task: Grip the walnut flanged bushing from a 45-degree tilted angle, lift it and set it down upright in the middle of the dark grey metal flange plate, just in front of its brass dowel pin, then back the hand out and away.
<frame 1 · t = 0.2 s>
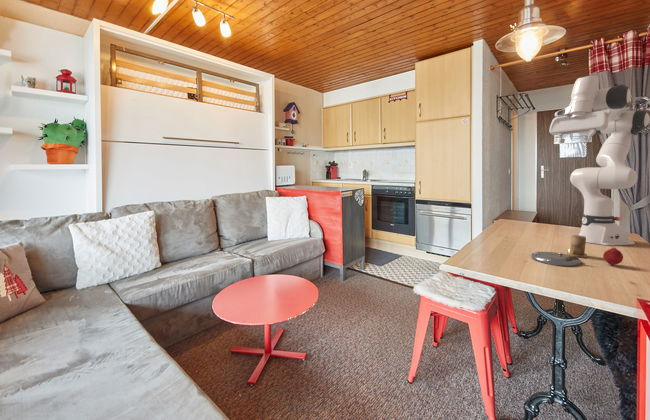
hand: (574, 141, 131), 51 cm above the table, tool tilted 20°, fingers open, 8 cm apart
bushing: (576, 255, 135), on the table
flange plate: (554, 259, 130), on the table
onion: (611, 265, 121), on the table
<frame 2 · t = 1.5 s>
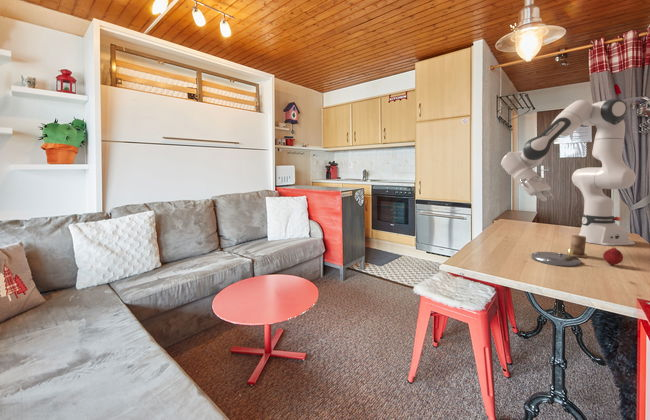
hand: (549, 199, 141), 25 cm above the table, tool tilted 45°, fingers open, 8 cm apart
nothing on the table moved.
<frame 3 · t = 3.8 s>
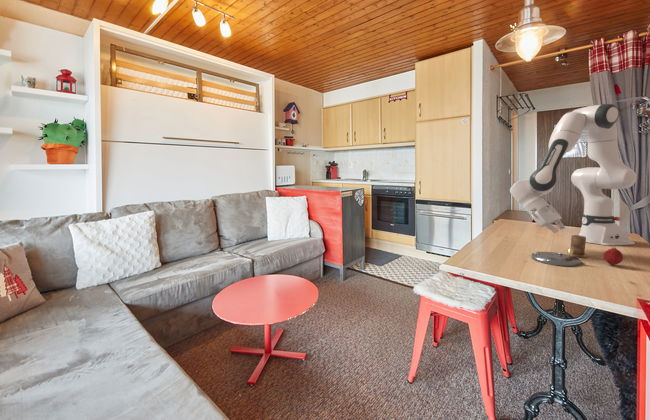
hand: (560, 230, 139), 11 cm above the table, tool tilted 45°, fingers open, 8 cm apart
nothing on the table moved.
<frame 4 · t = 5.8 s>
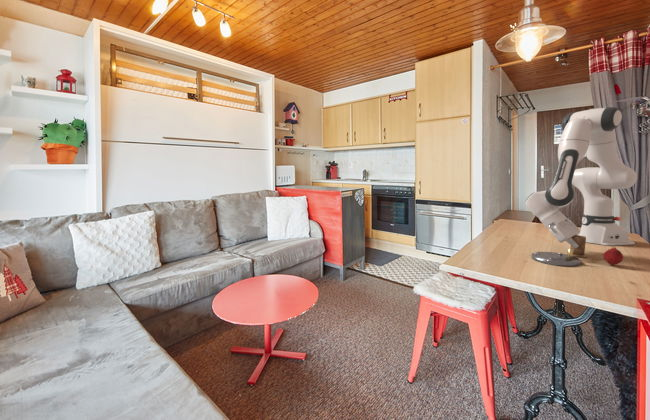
hand: (579, 245, 134), 5 cm above the table, tool tilted 45°, fingers closed on bushing, 5 cm apart
bushing: (576, 255, 135), on the table, touching gripper
everything else where it was.
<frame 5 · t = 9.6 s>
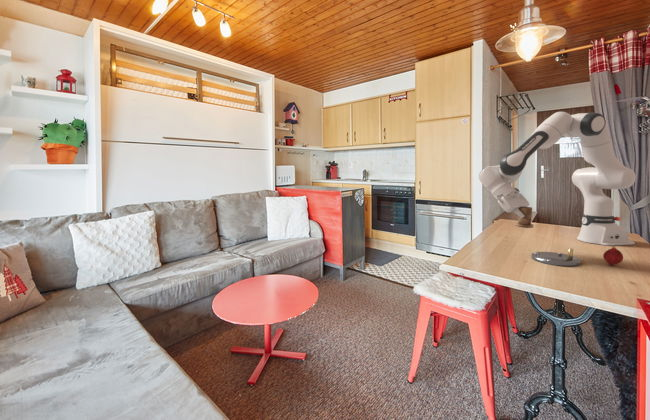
hand: (526, 216, 137), 18 cm above the table, tool tilted 45°, fingers closed on bushing, 5 cm apart
bushing: (524, 226, 138), point 13 cm above the table, touching gripper
everything else where it was.
when the fingers open (7 cm above the table, at t = 13.3 s): bushing drops 1 cm, resting on flange plate.
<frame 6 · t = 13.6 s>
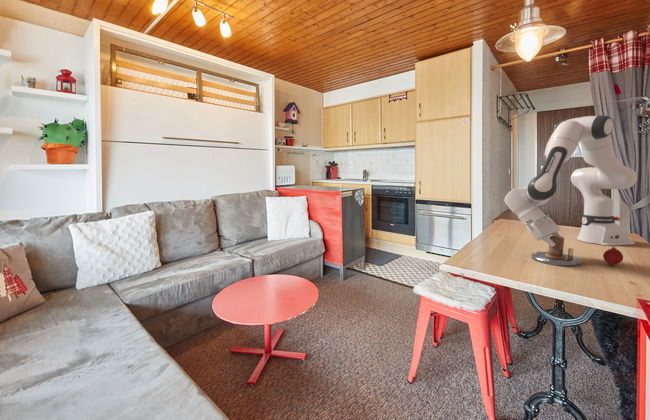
hand: (558, 243, 128), 7 cm above the table, tool tilted 45°, fingers open, 8 cm apart
bushing: (555, 257, 130), point 1 cm above the table, touching flange plate
everything else where it was.
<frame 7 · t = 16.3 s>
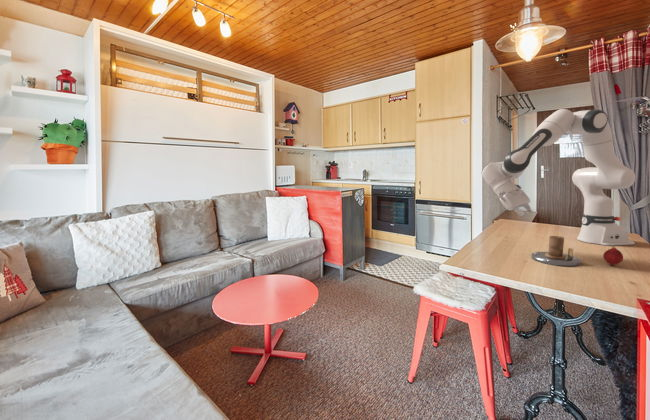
hand: (527, 214, 139), 19 cm above the table, tool tilted 40°, fingers open, 8 cm apart
nothing on the table moved.
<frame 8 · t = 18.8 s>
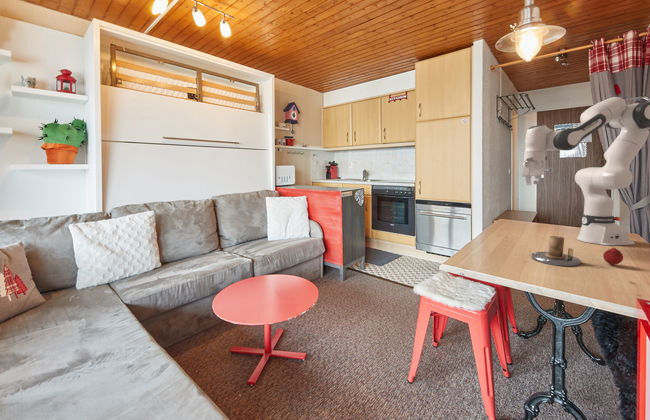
hand: (532, 184, 153), 31 cm above the table, tool pointing down, fingers open, 8 cm apart
nothing on the table moved.
at the end: bushing 0.0 cm from the flange plate (horizontally); bushing touching flange plate; bushing tilted 0° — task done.
